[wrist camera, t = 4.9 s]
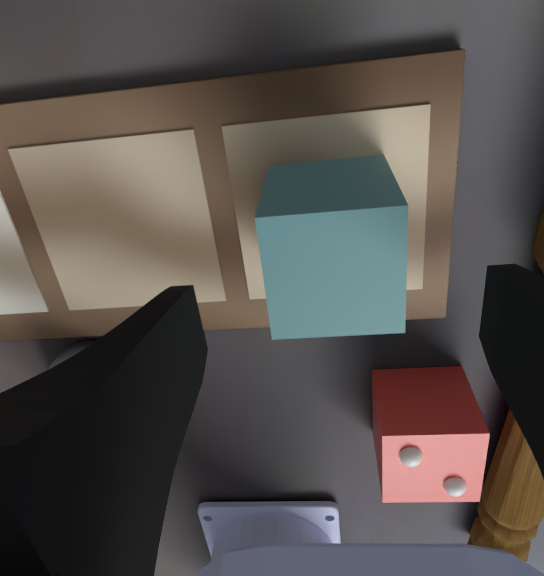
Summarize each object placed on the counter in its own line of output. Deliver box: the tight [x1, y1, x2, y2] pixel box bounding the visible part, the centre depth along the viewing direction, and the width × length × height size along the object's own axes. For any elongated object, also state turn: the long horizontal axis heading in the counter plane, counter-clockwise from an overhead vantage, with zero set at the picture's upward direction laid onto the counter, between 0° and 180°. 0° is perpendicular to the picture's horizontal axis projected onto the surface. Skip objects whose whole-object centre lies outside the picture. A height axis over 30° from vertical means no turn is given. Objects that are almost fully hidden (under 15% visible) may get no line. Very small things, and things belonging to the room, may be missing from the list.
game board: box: [0, 49, 465, 341], centre depth 19 cm, size 10×25×1 cm, turn 97°
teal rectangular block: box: [255, 155, 408, 340], centre depth 16 cm, size 4×4×5 cm
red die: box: [372, 366, 490, 503], centre depth 21 cm, size 4×4×4 cm
